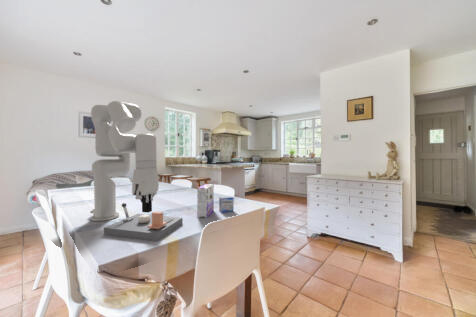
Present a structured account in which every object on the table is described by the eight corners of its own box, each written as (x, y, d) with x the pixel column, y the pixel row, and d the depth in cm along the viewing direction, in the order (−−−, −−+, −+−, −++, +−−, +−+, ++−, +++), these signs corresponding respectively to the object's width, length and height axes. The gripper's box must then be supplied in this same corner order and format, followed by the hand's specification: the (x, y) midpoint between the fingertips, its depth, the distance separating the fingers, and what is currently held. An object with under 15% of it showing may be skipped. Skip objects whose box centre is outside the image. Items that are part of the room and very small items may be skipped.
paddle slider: (147, 227, 82) (147, 214, 82) (157, 223, 88) (156, 210, 87) (158, 229, 81) (158, 215, 80) (166, 224, 86) (166, 211, 86)
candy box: (204, 210, 120) (204, 183, 120) (213, 210, 120) (214, 184, 119) (197, 217, 107) (197, 187, 106) (207, 217, 106) (207, 187, 106)
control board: (103, 234, 83) (103, 226, 83) (138, 219, 103) (138, 212, 103) (156, 241, 77) (156, 231, 77) (182, 223, 97) (182, 216, 97)
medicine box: (221, 213, 115) (221, 198, 115) (219, 210, 119) (219, 196, 119) (233, 211, 118) (233, 197, 118) (231, 209, 122) (231, 195, 122)
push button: (135, 222, 88) (135, 217, 88) (143, 219, 93) (143, 214, 93) (145, 223, 87) (145, 218, 87) (152, 220, 92) (152, 215, 92)
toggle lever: (124, 219, 92) (120, 204, 92) (127, 217, 94) (123, 203, 94) (127, 218, 91) (123, 203, 92) (131, 216, 93) (126, 202, 94)
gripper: (150, 164, 85) (151, 206, 85) (123, 166, 70) (123, 217, 70) (165, 164, 83) (166, 207, 83) (140, 166, 68) (141, 218, 69)
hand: (147, 211), depth 77 cm, fingers closed
